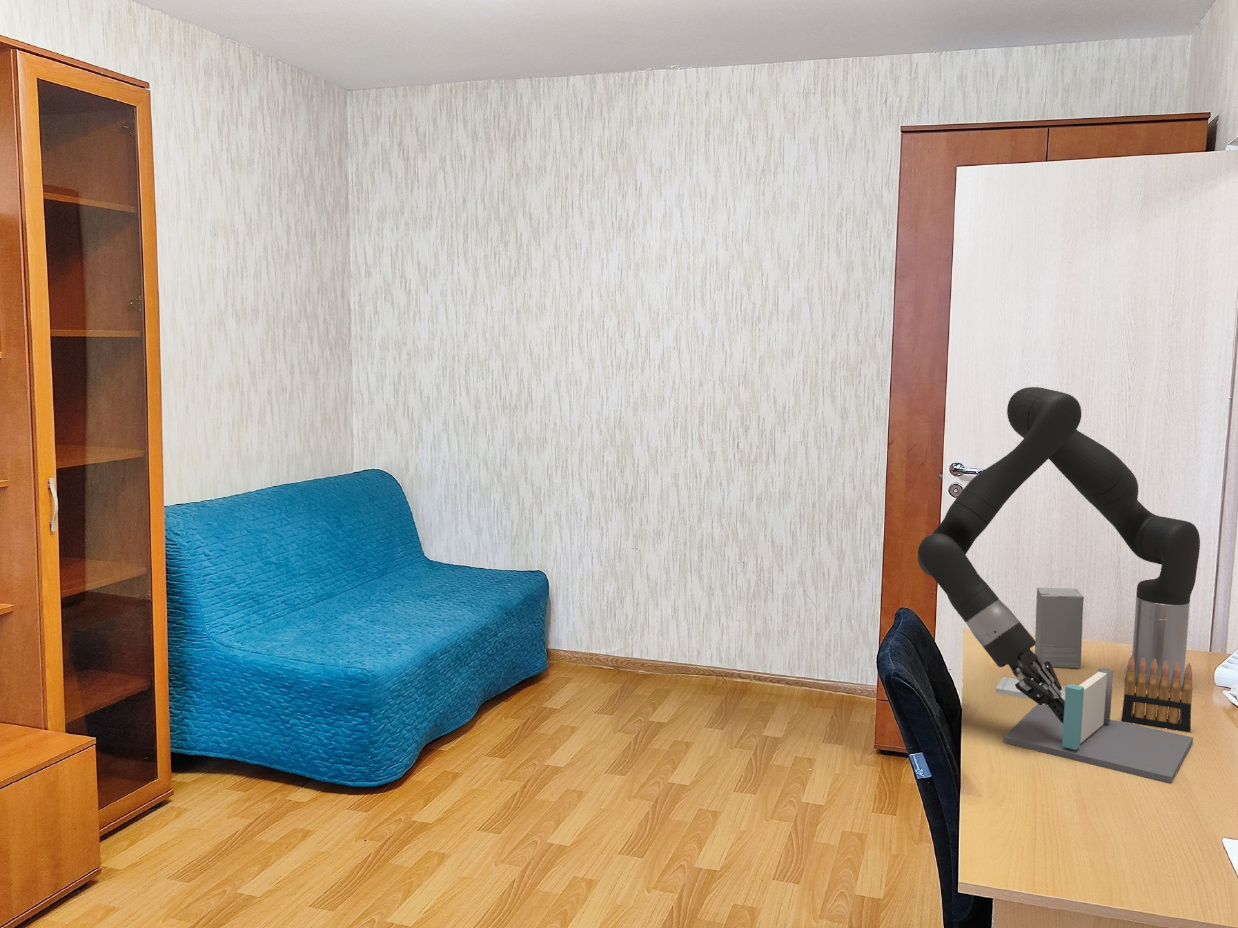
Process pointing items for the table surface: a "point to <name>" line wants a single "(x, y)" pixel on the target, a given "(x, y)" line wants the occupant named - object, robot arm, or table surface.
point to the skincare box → (1059, 626)
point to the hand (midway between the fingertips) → (1069, 719)
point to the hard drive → (1009, 688)
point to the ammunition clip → (1158, 697)
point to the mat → (1106, 745)
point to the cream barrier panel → (1086, 708)
